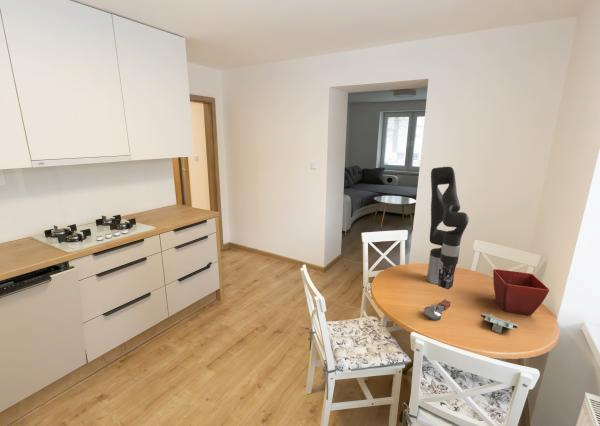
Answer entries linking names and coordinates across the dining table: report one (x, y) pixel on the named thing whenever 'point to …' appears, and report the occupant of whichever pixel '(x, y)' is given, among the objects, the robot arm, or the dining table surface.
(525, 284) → the plant pot
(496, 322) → the metal bracket
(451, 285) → the grey block
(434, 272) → the robot arm
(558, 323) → the dining table surface
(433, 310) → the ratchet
